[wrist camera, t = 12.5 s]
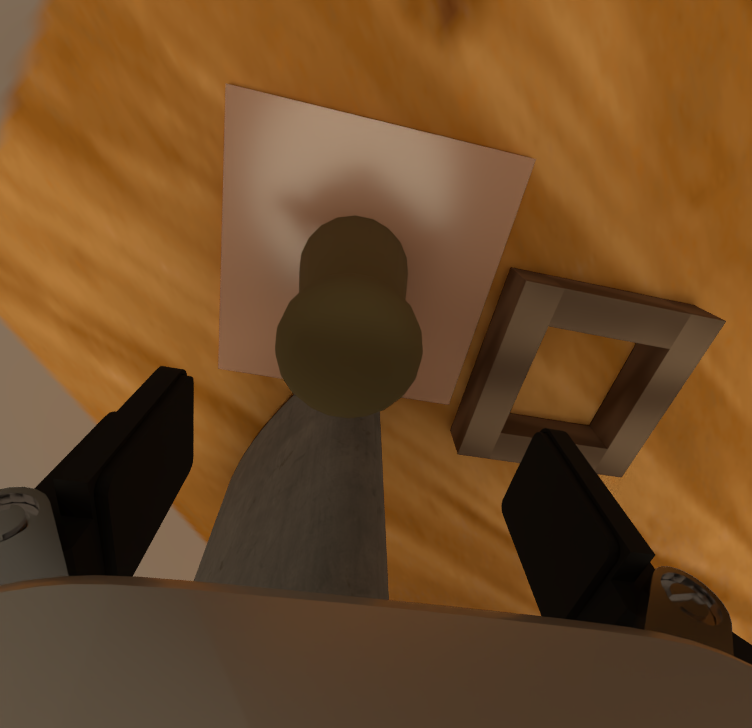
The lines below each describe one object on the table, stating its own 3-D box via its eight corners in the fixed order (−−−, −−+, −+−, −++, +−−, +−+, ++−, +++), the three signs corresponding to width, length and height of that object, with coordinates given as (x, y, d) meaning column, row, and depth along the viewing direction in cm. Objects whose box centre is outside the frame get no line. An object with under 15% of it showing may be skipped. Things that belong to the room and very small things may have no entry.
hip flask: (258, 505, 32) (139, 948, 15) (211, 483, 31) (21, 945, 14) (388, 372, 26) (432, 880, 9) (336, 337, 24) (269, 860, 7)
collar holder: (603, 453, 31) (621, 477, 28) (450, 430, 29) (457, 454, 27) (693, 305, 25) (726, 321, 23) (510, 267, 23) (526, 280, 21)
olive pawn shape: (341, 340, 25) (328, 470, 15) (276, 257, 22) (210, 349, 12) (427, 286, 23) (475, 392, 14) (369, 191, 21) (375, 237, 11)
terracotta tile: (447, 399, 28) (448, 404, 27) (221, 363, 26) (218, 368, 25) (531, 158, 21) (535, 159, 20) (229, 84, 19) (225, 83, 18)
